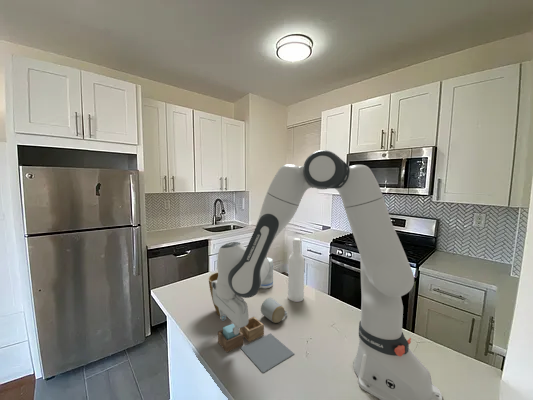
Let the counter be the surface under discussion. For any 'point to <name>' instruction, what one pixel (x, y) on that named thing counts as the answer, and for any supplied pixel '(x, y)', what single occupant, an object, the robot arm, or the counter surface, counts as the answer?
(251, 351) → the slate mat
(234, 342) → the brown wooden square tray
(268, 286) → the supplement tub
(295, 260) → the bottle
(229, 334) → the light blue block
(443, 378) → the counter surface
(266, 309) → the ceramic mug
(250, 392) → the counter surface
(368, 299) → the robot arm
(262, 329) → the light wooden open box
